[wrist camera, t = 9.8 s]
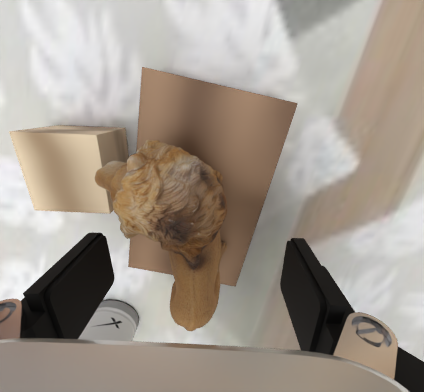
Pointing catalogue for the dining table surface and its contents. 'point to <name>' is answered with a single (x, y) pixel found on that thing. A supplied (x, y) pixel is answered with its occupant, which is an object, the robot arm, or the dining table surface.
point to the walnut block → (214, 153)
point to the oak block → (68, 165)
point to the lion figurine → (174, 220)
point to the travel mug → (112, 322)
